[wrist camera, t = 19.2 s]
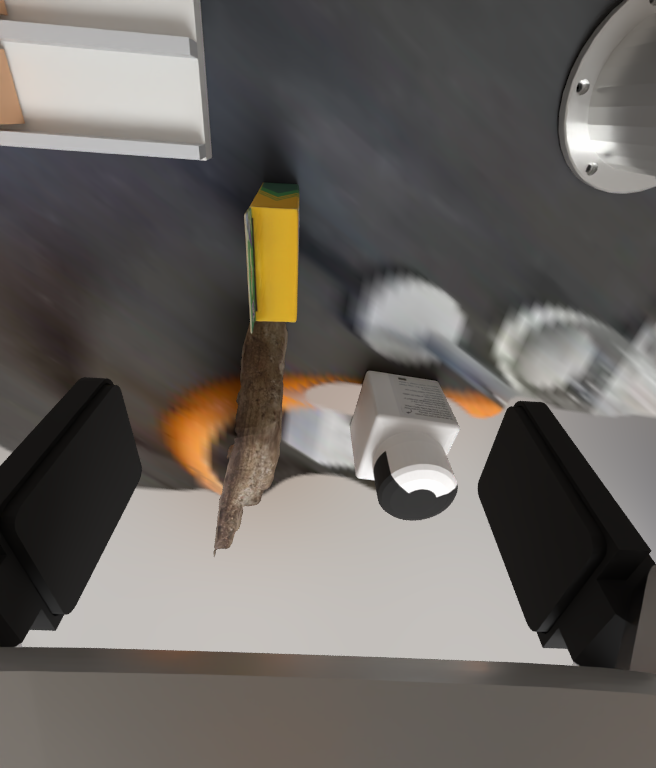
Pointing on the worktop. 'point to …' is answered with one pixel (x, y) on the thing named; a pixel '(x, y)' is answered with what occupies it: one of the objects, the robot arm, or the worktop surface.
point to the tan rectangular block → (2, 8)
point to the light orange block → (8, 95)
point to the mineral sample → (254, 427)
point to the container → (405, 444)
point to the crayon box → (273, 253)
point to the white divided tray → (108, 76)
